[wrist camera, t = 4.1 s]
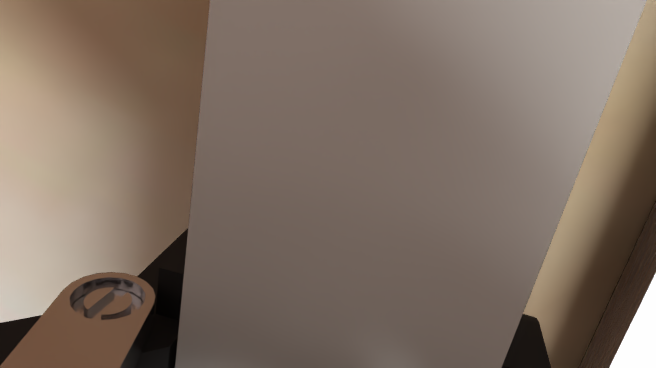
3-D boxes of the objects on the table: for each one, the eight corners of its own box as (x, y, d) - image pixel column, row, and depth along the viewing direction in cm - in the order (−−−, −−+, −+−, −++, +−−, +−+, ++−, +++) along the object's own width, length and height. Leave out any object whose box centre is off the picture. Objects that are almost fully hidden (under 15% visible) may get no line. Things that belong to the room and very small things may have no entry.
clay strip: (667, -375, 7) (1016, -938, 3) (350, 598, 16) (311, 848, 11) (385, -407, 8) (298, -933, 3) (222, 553, 16) (136, 776, 12)
